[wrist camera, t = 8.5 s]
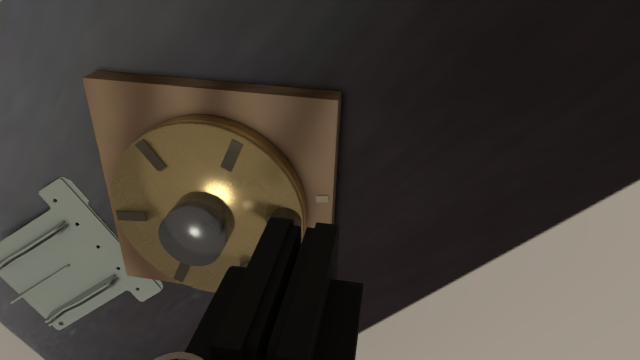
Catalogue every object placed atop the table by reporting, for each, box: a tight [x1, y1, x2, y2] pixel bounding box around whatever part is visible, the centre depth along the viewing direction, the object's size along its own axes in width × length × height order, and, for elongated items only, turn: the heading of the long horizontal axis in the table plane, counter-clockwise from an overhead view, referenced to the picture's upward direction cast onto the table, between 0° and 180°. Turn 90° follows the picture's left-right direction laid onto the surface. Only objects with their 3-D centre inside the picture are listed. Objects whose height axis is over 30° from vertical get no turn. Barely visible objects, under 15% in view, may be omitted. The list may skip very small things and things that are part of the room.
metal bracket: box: [0, 177, 163, 330], centre depth 48 cm, size 14×6×15 cm
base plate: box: [83, 71, 342, 284], centre depth 41 cm, size 20×20×2 cm
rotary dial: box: [111, 115, 307, 292], centre depth 37 cm, size 16×16×7 cm
